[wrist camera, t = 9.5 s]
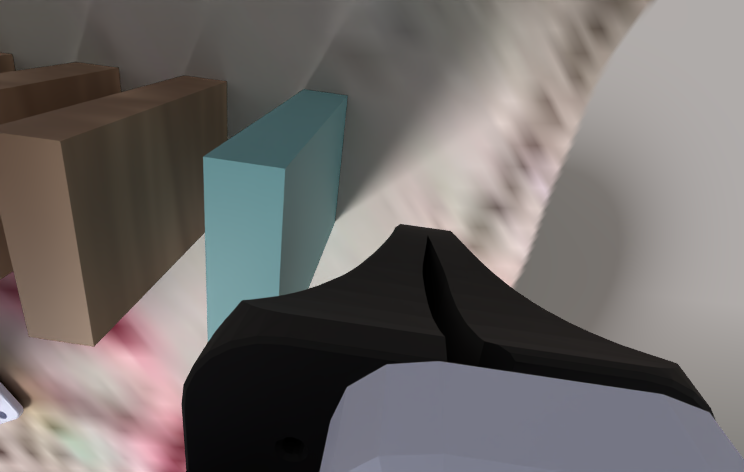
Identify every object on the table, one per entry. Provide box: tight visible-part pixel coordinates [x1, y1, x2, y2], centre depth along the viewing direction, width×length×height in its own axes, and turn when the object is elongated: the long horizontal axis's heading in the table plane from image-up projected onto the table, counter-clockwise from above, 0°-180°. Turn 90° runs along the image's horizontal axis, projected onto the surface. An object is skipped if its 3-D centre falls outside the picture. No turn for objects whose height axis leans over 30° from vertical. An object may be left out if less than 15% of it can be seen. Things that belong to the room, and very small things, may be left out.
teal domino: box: [203, 89, 348, 342], centre depth 14 cm, size 2×5×9 cm, turn 173°
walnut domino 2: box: [0, 76, 227, 347], centre depth 15 cm, size 2×5×9 cm, turn 173°
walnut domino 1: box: [0, 62, 121, 279], centre depth 15 cm, size 2×5×9 cm, turn 174°
